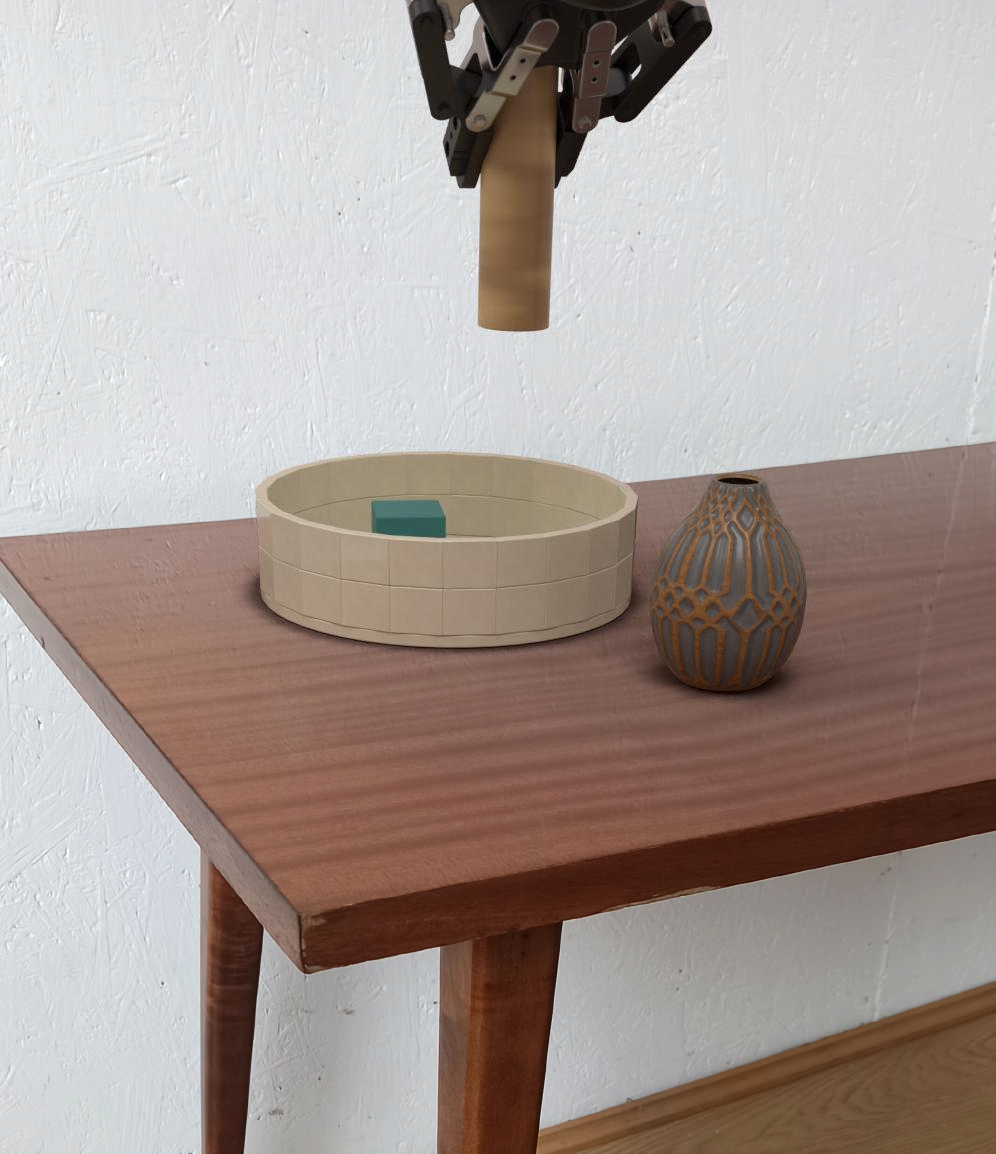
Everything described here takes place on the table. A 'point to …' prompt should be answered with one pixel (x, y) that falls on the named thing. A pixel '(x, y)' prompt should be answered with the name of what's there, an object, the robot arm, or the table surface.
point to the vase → (728, 589)
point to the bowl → (447, 549)
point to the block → (408, 518)
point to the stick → (519, 209)
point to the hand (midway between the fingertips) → (502, 171)
